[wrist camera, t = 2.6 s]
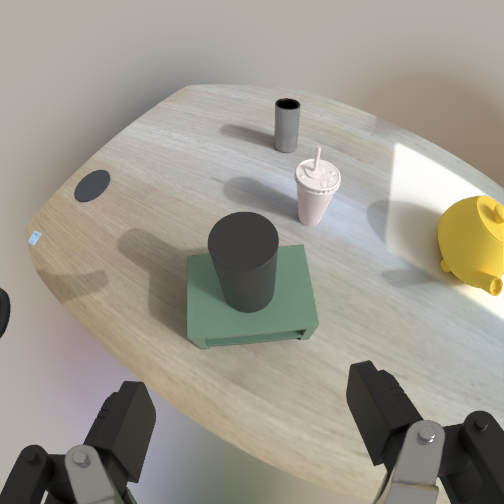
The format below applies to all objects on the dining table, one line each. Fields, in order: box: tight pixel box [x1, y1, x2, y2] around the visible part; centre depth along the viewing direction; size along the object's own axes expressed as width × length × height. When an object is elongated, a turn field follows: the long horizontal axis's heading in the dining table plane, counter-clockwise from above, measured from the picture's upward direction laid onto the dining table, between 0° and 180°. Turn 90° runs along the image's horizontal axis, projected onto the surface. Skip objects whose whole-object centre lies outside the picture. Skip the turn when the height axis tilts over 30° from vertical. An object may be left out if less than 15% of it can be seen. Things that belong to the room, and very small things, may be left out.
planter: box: [274, 98, 300, 153], centre depth 49 cm, size 4×4×10 cm
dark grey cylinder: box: [208, 212, 279, 313], centre depth 26 cm, size 6×6×10 cm
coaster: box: [75, 170, 110, 202], centre depth 50 cm, size 9×9×1 cm
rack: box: [187, 245, 319, 349], centre depth 33 cm, size 14×10×7 cm
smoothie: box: [294, 145, 341, 226], centre depth 38 cm, size 6×6×14 cm
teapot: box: [438, 196, 504, 296], centre depth 32 cm, size 20×16×14 cm
